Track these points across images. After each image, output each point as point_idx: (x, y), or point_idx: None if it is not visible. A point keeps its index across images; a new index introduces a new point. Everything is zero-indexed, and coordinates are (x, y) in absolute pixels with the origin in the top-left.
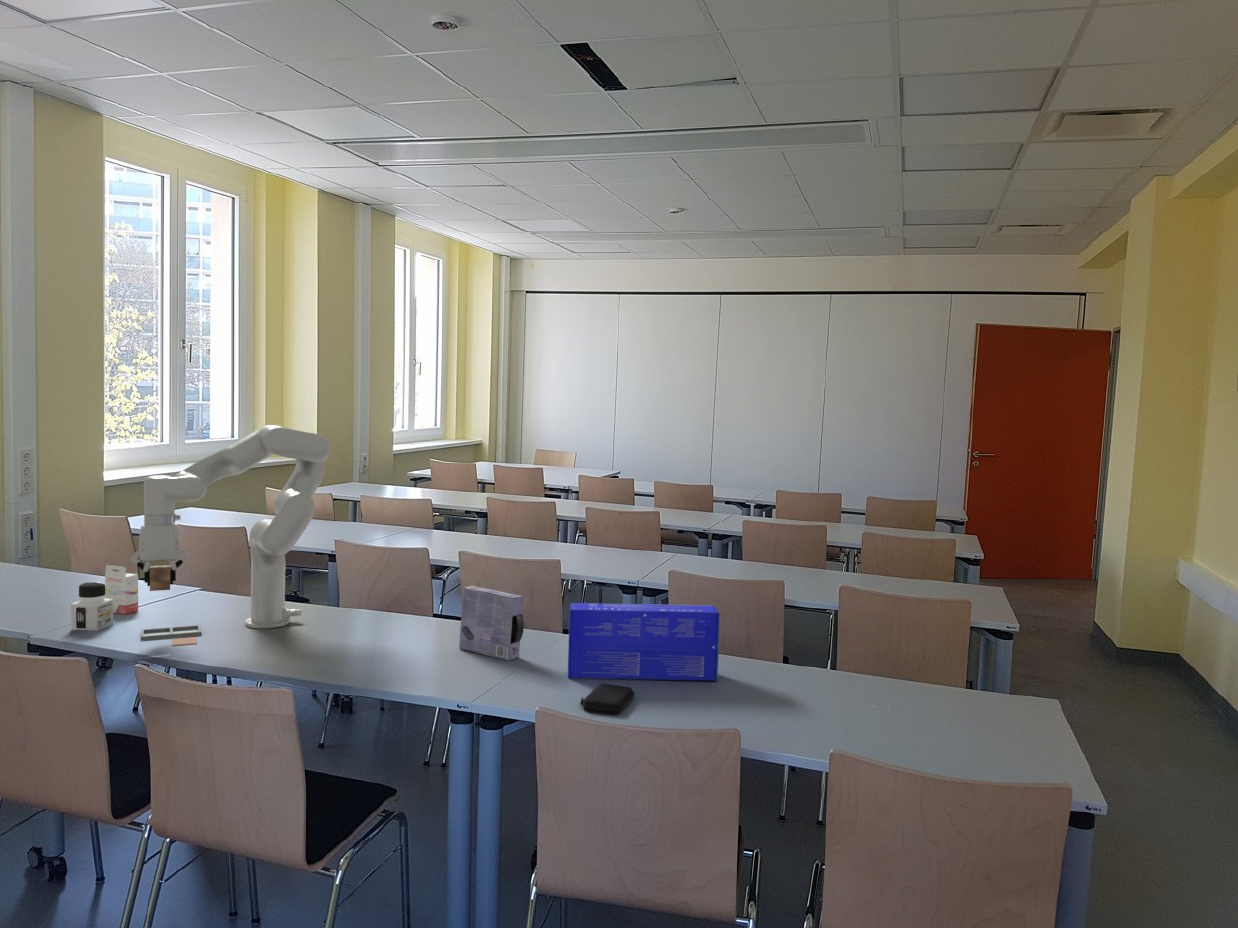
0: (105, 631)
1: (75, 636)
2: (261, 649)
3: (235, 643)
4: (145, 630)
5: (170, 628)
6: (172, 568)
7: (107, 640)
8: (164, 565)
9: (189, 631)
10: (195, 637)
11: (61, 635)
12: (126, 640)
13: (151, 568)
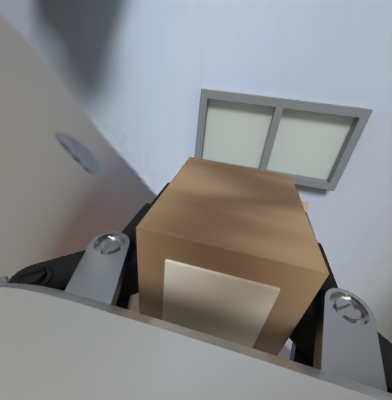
0: (116, 3)
1: (56, 35)
2: (378, 318)
3: (362, 269)
4: (211, 98)
5: (275, 115)
6: (295, 348)
7: (131, 117)
8: (267, 261)
9: (321, 135)
10: (305, 208)
11: (21, 4)
12: (169, 138)
13: (148, 309)
